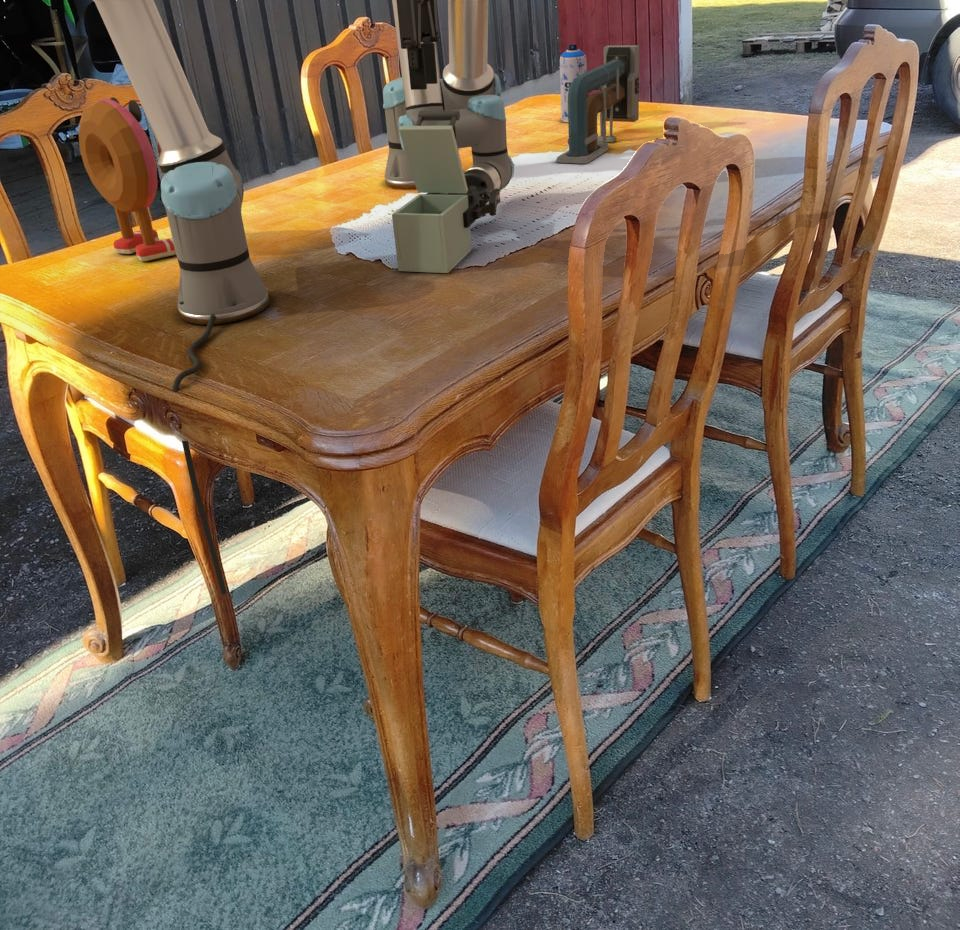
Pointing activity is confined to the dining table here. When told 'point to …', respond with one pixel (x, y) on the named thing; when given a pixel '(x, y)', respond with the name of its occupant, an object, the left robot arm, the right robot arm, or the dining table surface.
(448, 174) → the lid
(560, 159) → the clamp
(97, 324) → the dining table surface
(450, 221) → the chest
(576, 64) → the aerosol can
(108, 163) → the toy
